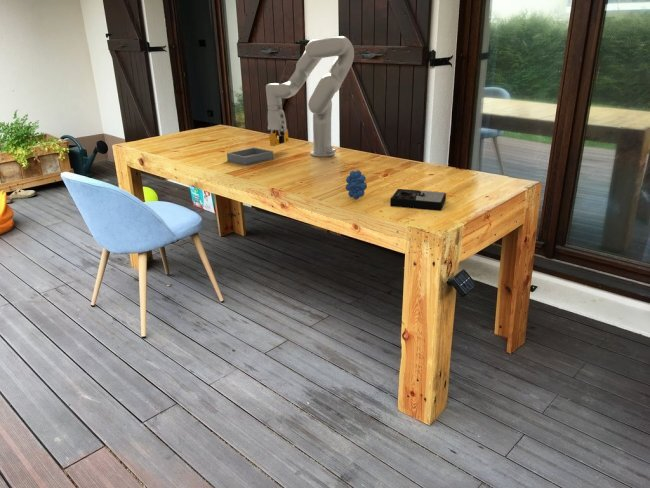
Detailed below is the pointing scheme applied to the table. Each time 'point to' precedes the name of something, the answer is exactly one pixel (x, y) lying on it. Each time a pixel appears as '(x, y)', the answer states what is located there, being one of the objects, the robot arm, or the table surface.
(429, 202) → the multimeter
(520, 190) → the table surface
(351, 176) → the grapes
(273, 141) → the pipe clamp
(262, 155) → the tray
